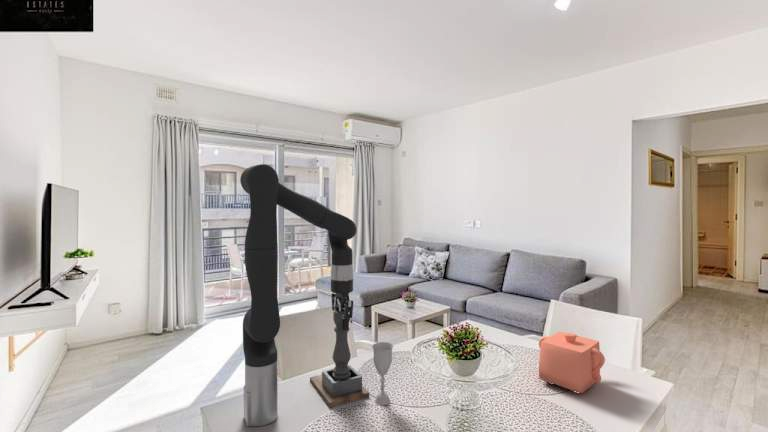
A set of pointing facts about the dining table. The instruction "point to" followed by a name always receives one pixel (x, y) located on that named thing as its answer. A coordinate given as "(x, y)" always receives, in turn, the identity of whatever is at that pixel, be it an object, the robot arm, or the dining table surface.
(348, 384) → the collar
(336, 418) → the dining table surface
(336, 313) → the candle holder
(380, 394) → the chalice
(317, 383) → the keeper plate
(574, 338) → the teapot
